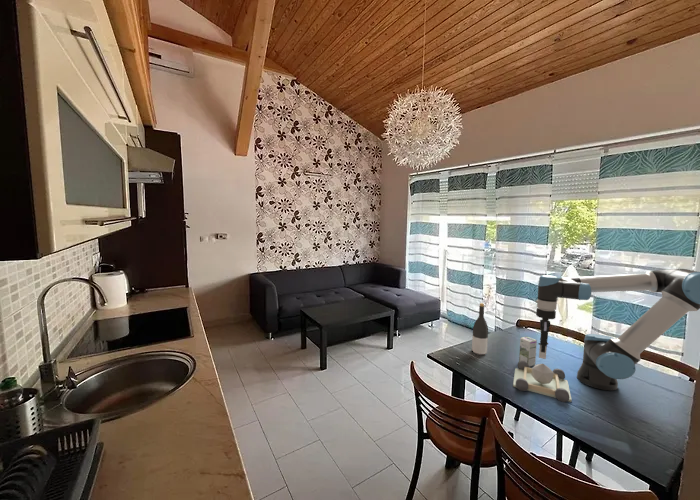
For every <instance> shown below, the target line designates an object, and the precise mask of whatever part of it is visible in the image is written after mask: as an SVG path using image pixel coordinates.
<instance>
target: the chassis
mask: <svg viewBox="0 0 700 500" xmlns="http://www.w3.org/2000/svg"><path fill="white" fill-rule="evenodd" d="M532 368H533V367H530V366H529V364H528V363H527V362H525V361H520V362H519V361H518V363H517V367H515V368H514V369H515V370H514V375H513V376H514V377H513V383H512V387H513V388H516V389H517V390H519V391H520V392H526V391H527V392H528V391H529V392H532V393H536V394H539V395H544V396H546V397H551V398H553V399H557V400H558V401H559V402H561V403H565V402H570V403H572V401H573V400H572V396H571V395H572V394H571V391H570V386H569V381H568V380H567V379H566V374H565V372H564V370H562V369H561V368H554V369H553V370H552V371H553V372H554V375H553V380H552V381H551V382H550V383H549V384H541V383H539V382H538V381H536V380H535V379H534V378H533V376H532V375H531V373H532Z"/></svg>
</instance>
